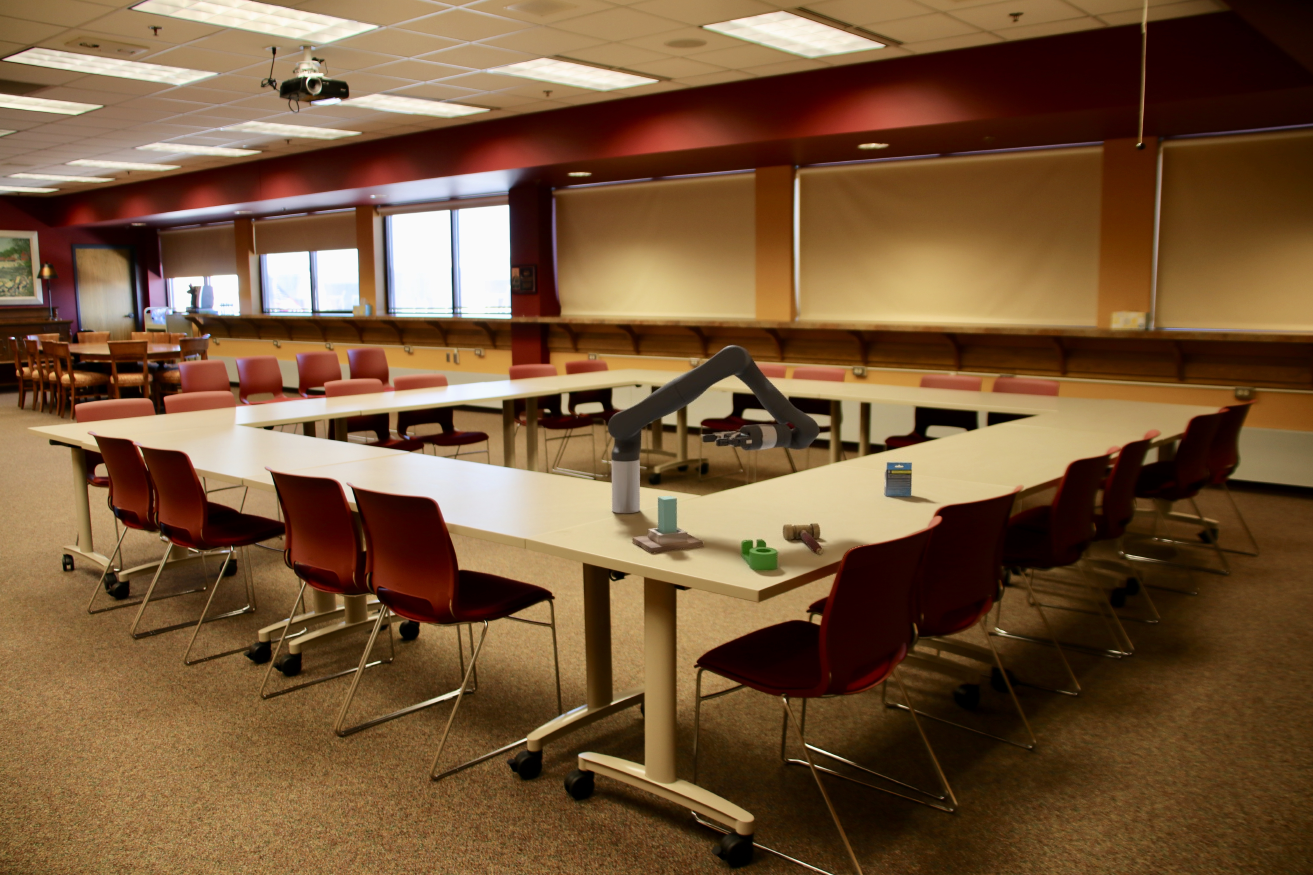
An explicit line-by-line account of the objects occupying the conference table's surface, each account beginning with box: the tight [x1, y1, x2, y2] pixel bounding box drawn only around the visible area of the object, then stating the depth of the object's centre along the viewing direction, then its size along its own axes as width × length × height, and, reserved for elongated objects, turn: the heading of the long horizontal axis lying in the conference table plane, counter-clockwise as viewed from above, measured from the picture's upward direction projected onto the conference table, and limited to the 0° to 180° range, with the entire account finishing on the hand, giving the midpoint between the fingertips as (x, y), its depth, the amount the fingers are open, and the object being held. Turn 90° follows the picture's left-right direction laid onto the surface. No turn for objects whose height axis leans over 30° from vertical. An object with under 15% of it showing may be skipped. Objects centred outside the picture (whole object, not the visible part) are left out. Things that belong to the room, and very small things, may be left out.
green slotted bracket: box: [740, 538, 778, 572], centre depth 236 cm, size 15×7×5 cm, turn 7°
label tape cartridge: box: [883, 461, 913, 498], centre depth 319 cm, size 9×4×12 cm, turn 84°
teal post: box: [657, 495, 678, 534], centre depth 255 cm, size 4×4×12 cm
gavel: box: [782, 522, 823, 555], centre depth 253 cm, size 21×5×10 cm
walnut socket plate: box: [632, 526, 704, 554], centre depth 255 cm, size 13×16×4 cm
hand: (709, 440), depth 263 cm, fingers open, 8 cm apart
